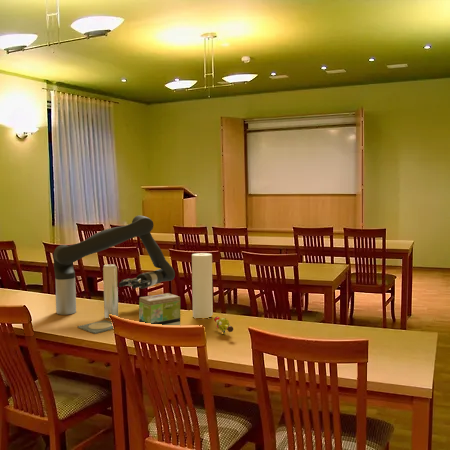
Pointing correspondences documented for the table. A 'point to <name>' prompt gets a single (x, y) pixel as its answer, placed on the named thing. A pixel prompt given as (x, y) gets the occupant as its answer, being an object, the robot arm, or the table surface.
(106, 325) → the plate
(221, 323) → the toy figure
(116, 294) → the tall cream cylinder
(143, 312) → the tea box
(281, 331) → the table surface
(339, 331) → the table surface
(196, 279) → the cylinder container
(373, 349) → the table surface
